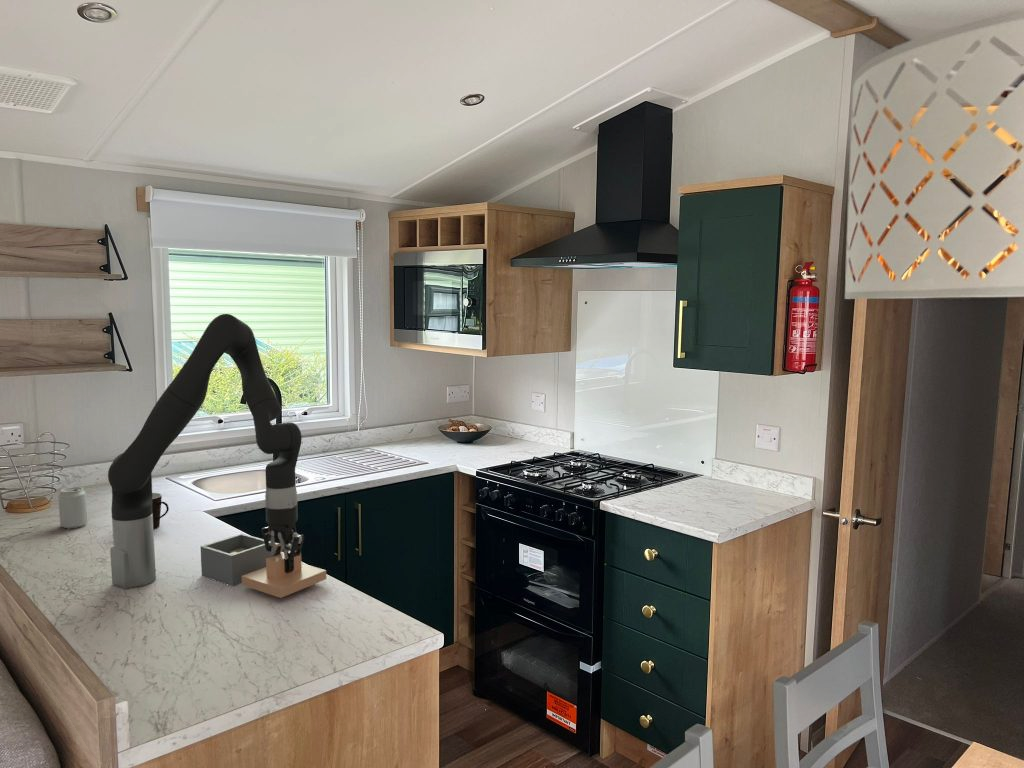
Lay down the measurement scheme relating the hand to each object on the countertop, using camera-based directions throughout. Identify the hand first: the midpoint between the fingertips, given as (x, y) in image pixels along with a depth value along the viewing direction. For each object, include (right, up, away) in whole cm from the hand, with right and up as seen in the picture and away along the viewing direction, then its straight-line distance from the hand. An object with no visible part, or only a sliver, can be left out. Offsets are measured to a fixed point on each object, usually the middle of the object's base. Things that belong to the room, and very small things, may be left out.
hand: (283, 570), depth 190 cm
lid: (0, -3, +1) cm, 3 cm away
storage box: (-15, -3, +10) cm, 19 cm away
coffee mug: (-56, +1, +48) cm, 74 cm away
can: (-81, +2, +50) cm, 95 cm away
